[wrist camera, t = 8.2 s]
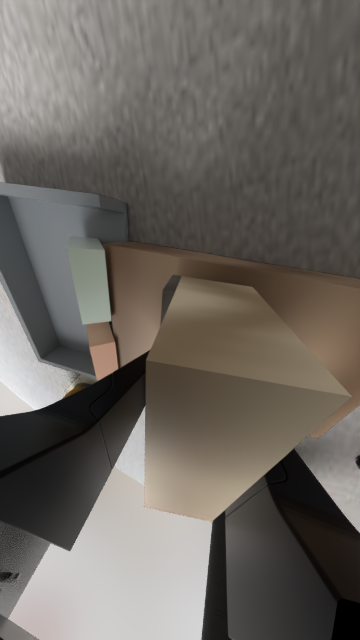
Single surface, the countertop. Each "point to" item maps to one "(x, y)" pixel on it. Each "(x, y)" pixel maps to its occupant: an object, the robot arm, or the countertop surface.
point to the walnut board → (267, 279)
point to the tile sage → (89, 278)
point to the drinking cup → (216, 585)
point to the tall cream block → (225, 396)
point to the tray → (52, 265)
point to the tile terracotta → (102, 349)
